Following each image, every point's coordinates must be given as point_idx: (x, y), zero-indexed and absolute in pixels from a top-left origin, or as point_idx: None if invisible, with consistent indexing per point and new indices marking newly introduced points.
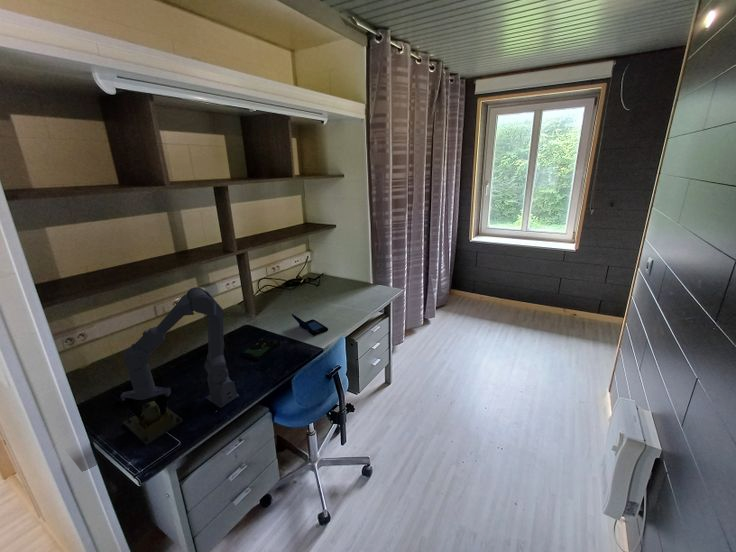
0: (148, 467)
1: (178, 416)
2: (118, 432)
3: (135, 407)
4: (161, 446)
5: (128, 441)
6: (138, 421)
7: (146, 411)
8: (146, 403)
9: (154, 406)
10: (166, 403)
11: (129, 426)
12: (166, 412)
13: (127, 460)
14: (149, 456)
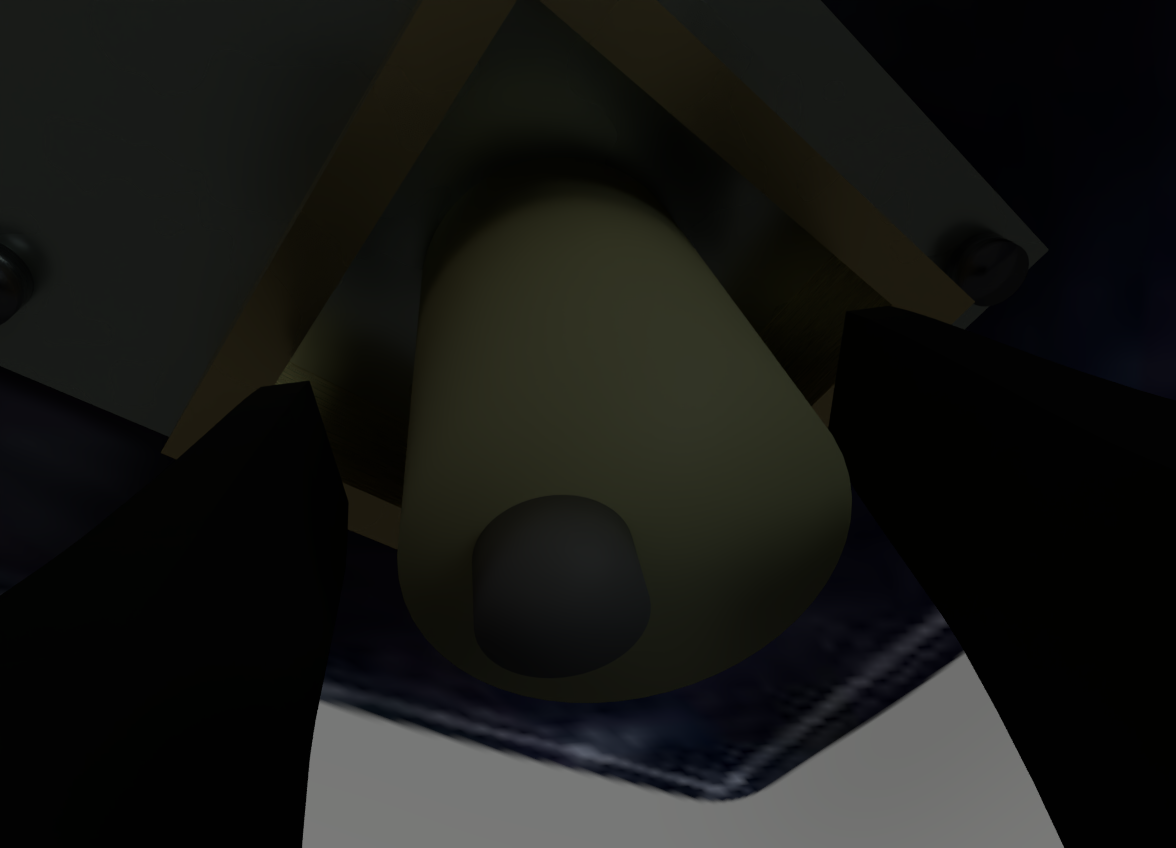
0: (776, 762)
1: (974, 178)
2: (9, 448)
3: (279, 797)
4: (817, 604)
5: (356, 574)
6: (368, 514)
7: (623, 682)
8: (513, 592)
9: (780, 560)
10: (1064, 375)
11: (139, 407)
12: (845, 263)
13: (540, 740)
14: (738, 694)
